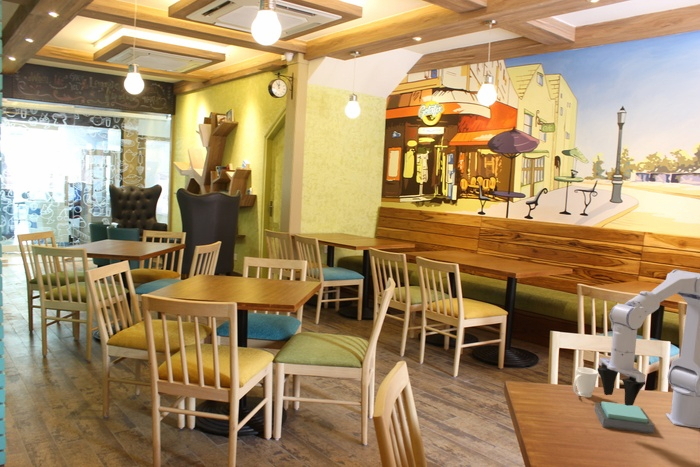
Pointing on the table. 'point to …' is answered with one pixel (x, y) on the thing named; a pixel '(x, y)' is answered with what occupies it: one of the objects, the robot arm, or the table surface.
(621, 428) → the plate housing
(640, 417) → the plate
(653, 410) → the table surface
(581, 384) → the cup
